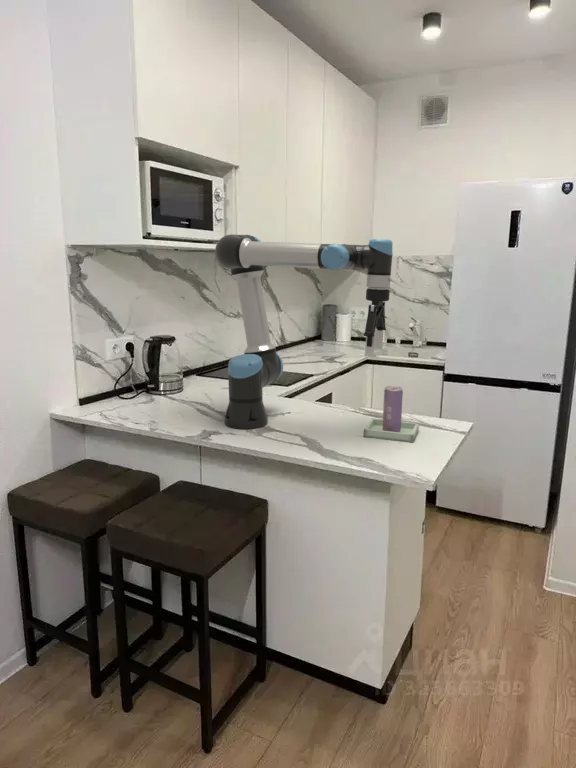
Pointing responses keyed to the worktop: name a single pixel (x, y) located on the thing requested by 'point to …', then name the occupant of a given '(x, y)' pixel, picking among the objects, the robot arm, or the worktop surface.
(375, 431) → the tray
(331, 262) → the robot arm
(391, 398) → the beverage can
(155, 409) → the worktop surface
